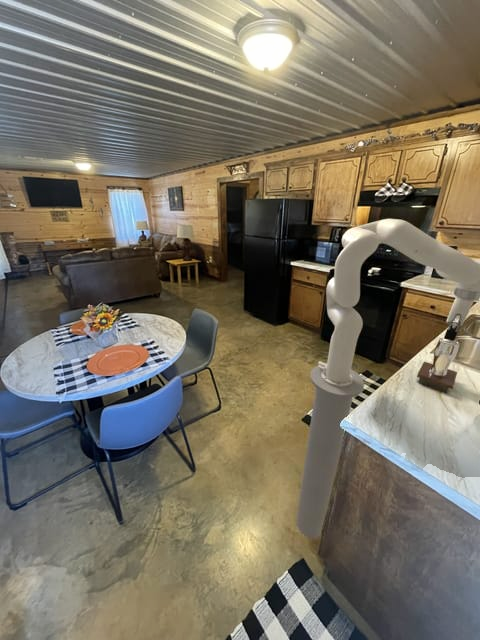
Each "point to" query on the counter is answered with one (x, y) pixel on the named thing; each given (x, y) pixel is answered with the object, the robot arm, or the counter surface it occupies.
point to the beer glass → (443, 356)
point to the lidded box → (436, 378)
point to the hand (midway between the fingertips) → (450, 335)
